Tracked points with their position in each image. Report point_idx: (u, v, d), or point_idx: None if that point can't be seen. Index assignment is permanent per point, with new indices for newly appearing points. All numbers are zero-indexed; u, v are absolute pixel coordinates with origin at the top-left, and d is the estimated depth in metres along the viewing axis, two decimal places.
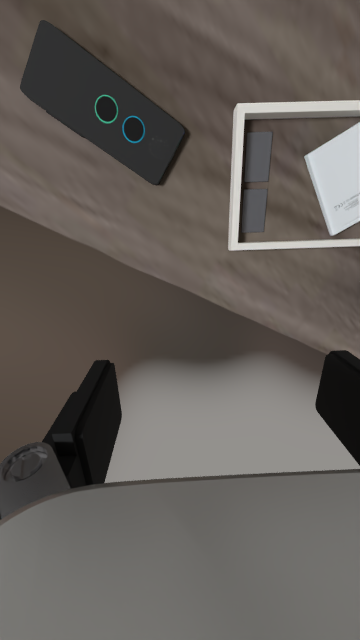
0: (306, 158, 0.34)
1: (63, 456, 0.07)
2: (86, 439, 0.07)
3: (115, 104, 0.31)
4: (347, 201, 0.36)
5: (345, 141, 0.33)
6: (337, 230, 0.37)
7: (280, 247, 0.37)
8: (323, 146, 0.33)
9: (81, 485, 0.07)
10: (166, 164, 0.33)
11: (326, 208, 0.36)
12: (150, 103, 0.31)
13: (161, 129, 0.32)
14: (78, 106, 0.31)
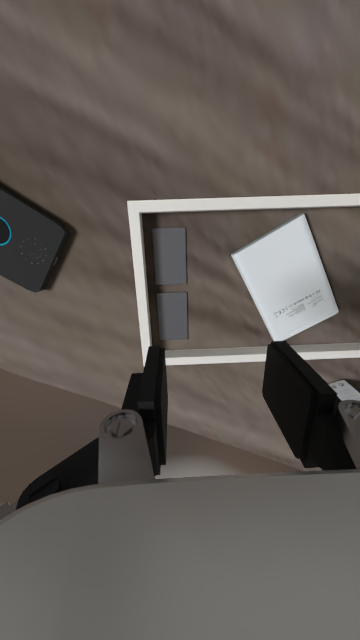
0: (233, 257, 0.26)
1: (144, 422, 0.08)
2: (161, 408, 0.08)
3: None
4: (291, 307, 0.28)
5: (281, 240, 0.25)
6: (280, 338, 0.29)
7: (206, 362, 0.29)
8: (252, 246, 0.25)
9: (157, 448, 0.08)
10: (46, 270, 0.26)
11: (263, 314, 0.28)
12: (13, 199, 0.23)
13: (33, 230, 0.24)
14: None
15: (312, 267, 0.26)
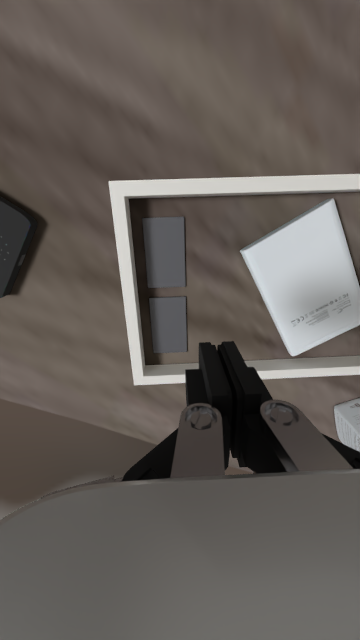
0: (243, 254, 0.21)
1: None
2: None
3: None
4: (312, 314, 0.23)
5: (303, 232, 0.20)
6: (298, 351, 0.25)
7: None
8: (267, 240, 0.20)
9: None
10: (10, 271, 0.20)
11: (278, 323, 0.23)
12: None
13: None
14: None
15: (340, 266, 0.21)
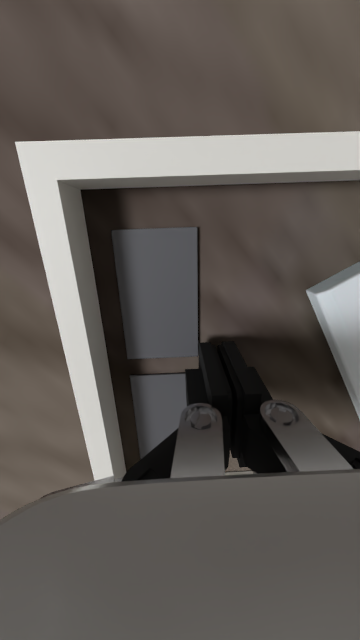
0: (313, 299, 0.11)
1: None
2: None
3: None
4: None
5: None
6: None
7: None
8: None
9: None
10: None
11: None
12: None
13: None
14: None
15: None
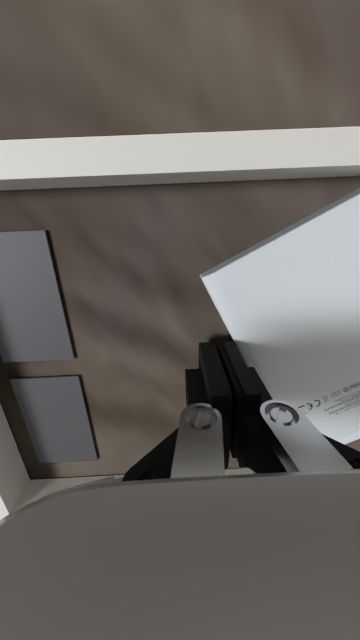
0: (204, 283, 0.11)
1: None
2: None
3: None
4: (336, 397, 0.12)
5: (329, 243, 0.09)
6: None
7: None
8: (253, 257, 0.10)
9: None
10: None
11: None
12: None
13: None
14: None
15: None
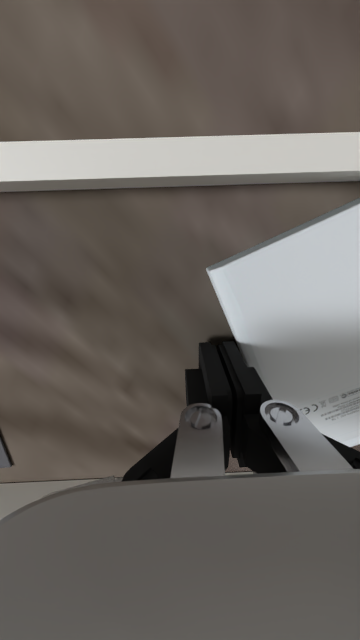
0: (211, 277, 0.10)
1: None
2: None
3: None
4: (333, 402, 0.12)
5: (341, 245, 0.09)
6: None
7: None
8: (263, 253, 0.09)
9: None
10: None
11: None
12: None
13: None
14: None
15: None
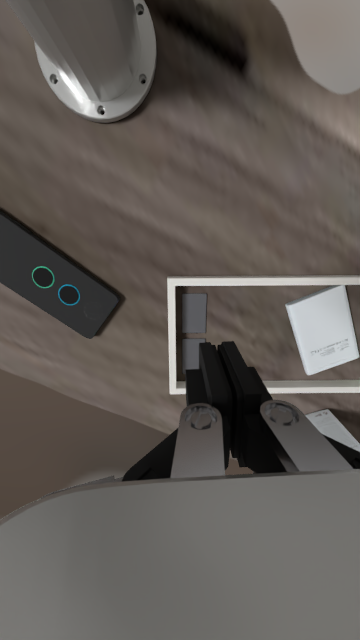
0: (287, 307, 0.35)
1: None
2: None
3: (51, 274, 0.32)
4: (324, 349, 0.36)
5: (325, 299, 0.34)
6: (312, 372, 0.37)
7: None
8: (303, 301, 0.34)
9: None
10: (100, 324, 0.35)
11: (302, 352, 0.36)
12: (85, 276, 0.32)
13: (96, 297, 0.33)
14: (16, 272, 0.32)
15: (344, 321, 0.35)
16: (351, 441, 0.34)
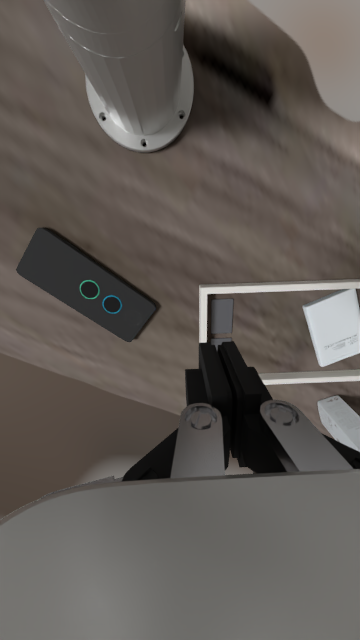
0: (304, 308, 0.39)
1: None
2: None
3: (97, 287, 0.36)
4: (336, 343, 0.41)
5: (338, 301, 0.38)
6: (325, 363, 0.43)
7: None
8: (319, 303, 0.38)
9: None
10: (139, 329, 0.39)
11: (317, 347, 0.41)
12: (127, 288, 0.37)
13: (135, 306, 0.38)
14: (66, 285, 0.36)
15: (354, 319, 0.40)
16: None
